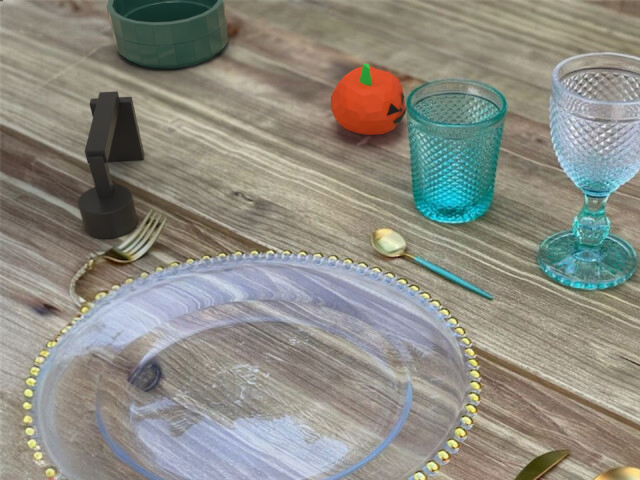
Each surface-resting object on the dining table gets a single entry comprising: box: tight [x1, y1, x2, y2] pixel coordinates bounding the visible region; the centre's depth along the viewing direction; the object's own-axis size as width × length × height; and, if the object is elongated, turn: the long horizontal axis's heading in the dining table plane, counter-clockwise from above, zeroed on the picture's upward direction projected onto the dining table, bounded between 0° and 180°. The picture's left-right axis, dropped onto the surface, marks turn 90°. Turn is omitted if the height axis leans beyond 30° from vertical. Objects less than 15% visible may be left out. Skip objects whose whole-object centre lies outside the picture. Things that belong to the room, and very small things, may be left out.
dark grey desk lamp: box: [77, 90, 145, 240], centre depth 80 cm, size 13×4×7 cm, turn 6°
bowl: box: [106, 0, 230, 70], centre depth 101 cm, size 12×12×5 cm
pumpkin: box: [330, 62, 407, 136], centre depth 88 cm, size 7×8×6 cm
